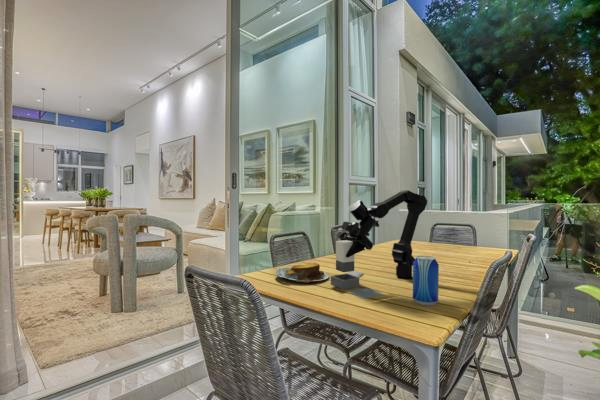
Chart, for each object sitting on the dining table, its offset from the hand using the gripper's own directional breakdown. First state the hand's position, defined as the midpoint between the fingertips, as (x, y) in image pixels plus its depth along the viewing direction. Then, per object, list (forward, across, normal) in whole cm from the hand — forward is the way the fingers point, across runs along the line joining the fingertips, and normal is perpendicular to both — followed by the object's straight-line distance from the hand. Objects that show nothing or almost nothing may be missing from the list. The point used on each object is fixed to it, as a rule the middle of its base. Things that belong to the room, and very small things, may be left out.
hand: (342, 255), depth 130 cm
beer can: (-2, +29, +20) cm, 35 cm away
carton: (+8, 0, +10) cm, 13 cm away
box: (+3, 0, +5) cm, 6 cm away
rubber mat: (+7, +12, +11) cm, 18 cm away
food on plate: (+16, -20, +4) cm, 26 cm away
